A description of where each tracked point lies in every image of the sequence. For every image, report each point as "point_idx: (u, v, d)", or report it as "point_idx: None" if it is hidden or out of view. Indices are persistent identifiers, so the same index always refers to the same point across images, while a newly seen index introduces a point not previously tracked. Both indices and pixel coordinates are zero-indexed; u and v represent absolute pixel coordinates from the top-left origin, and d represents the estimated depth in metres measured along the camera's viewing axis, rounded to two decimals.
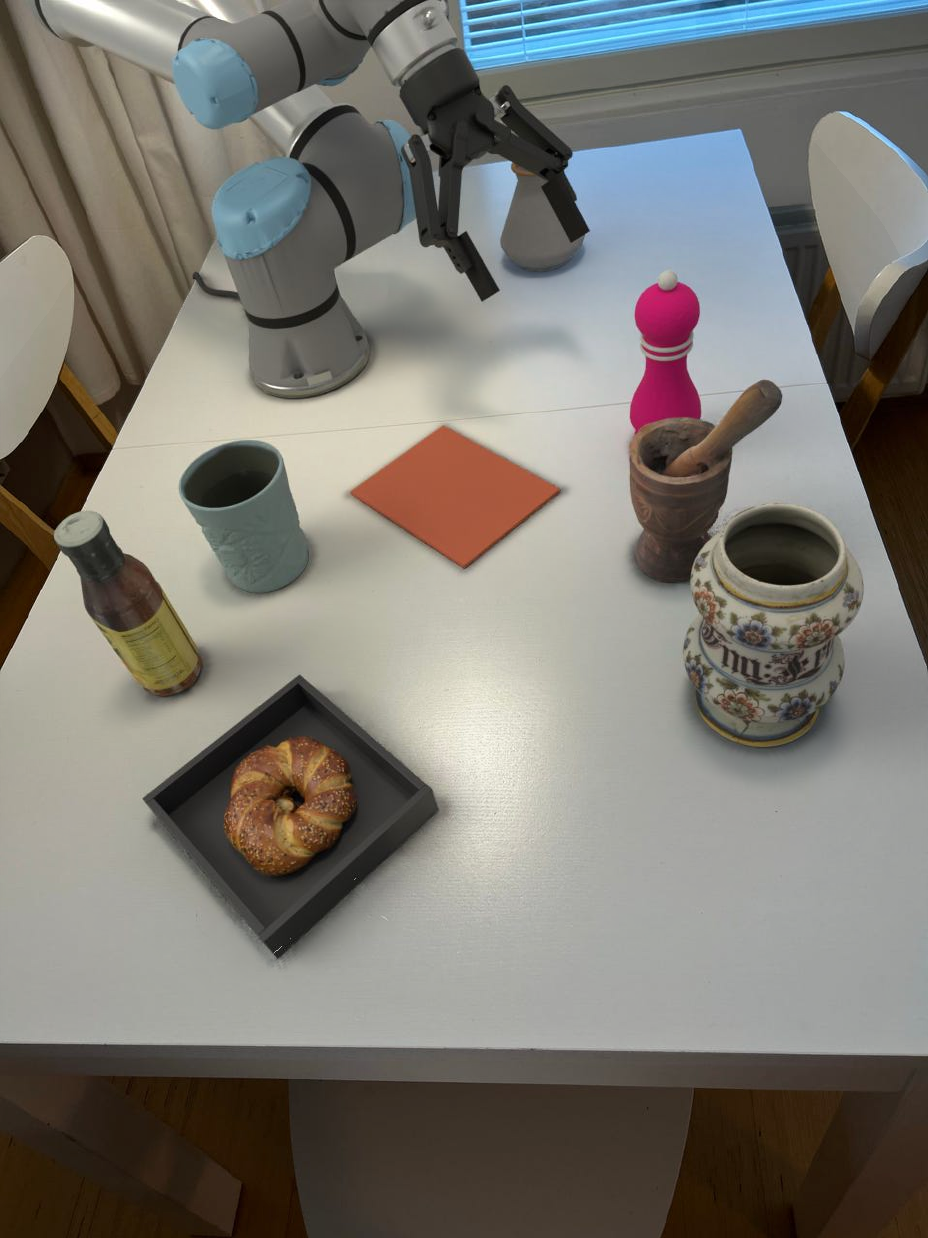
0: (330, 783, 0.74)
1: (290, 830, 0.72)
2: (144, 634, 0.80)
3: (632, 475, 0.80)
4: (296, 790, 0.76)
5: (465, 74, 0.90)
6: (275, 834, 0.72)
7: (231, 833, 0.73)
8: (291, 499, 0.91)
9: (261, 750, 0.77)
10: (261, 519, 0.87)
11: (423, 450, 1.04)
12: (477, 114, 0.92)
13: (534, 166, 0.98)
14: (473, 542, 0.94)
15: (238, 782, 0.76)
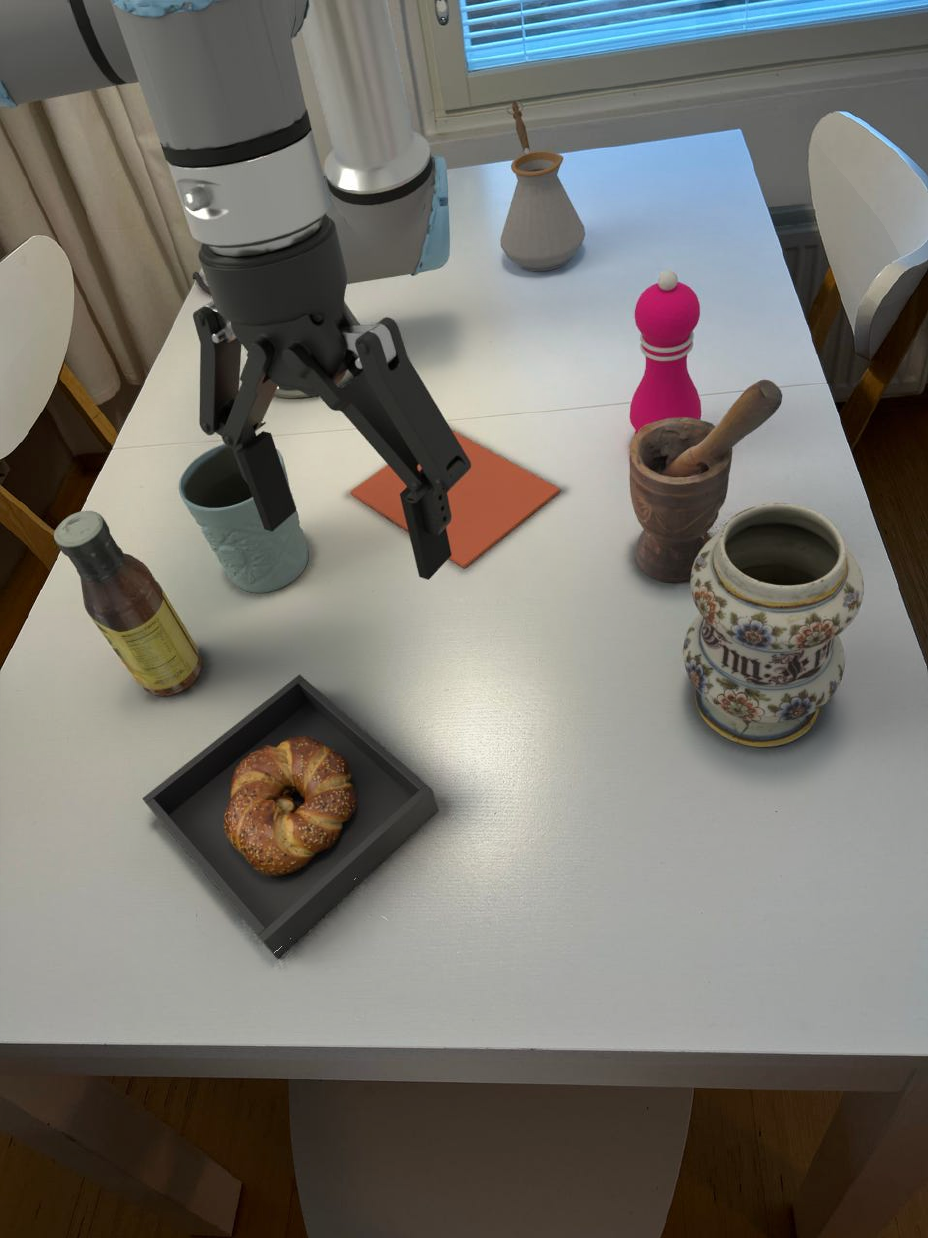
0: (330, 783, 0.74)
1: (290, 830, 0.72)
2: (144, 634, 0.80)
3: (632, 475, 0.80)
4: (296, 790, 0.76)
5: (242, 310, 0.49)
6: (275, 834, 0.72)
7: (231, 833, 0.73)
8: None
9: (261, 750, 0.77)
10: None
11: None
12: (286, 353, 0.52)
13: None
14: (473, 542, 0.94)
15: (238, 782, 0.76)
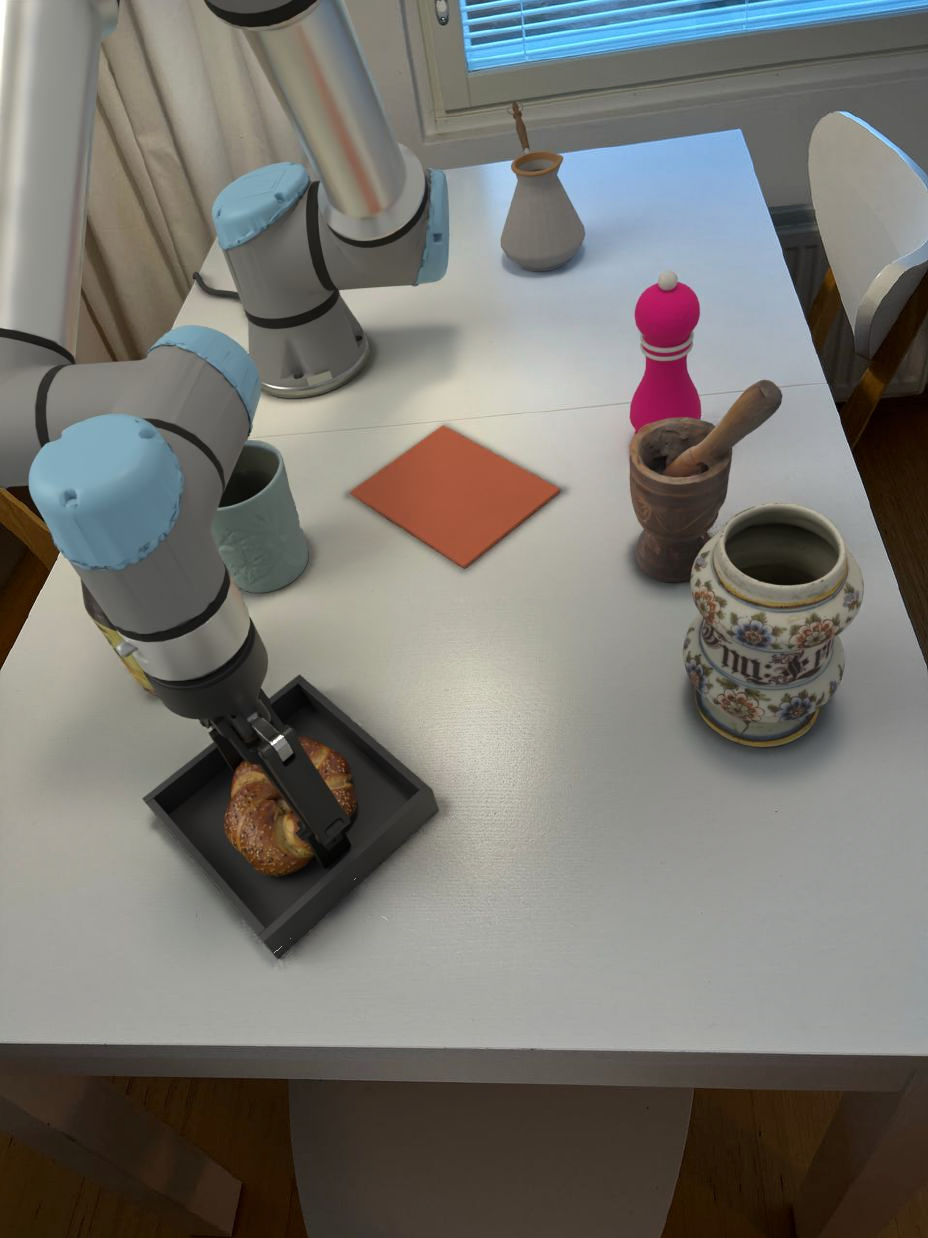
0: (331, 783, 0.74)
1: (291, 831, 0.72)
2: None
3: (632, 475, 0.80)
4: None
5: (169, 707, 0.60)
6: (276, 834, 0.72)
7: (231, 833, 0.73)
8: (291, 499, 0.91)
9: None
10: (261, 519, 0.87)
11: (423, 450, 1.04)
12: (212, 722, 0.63)
13: None
14: (473, 542, 0.94)
15: (238, 783, 0.76)
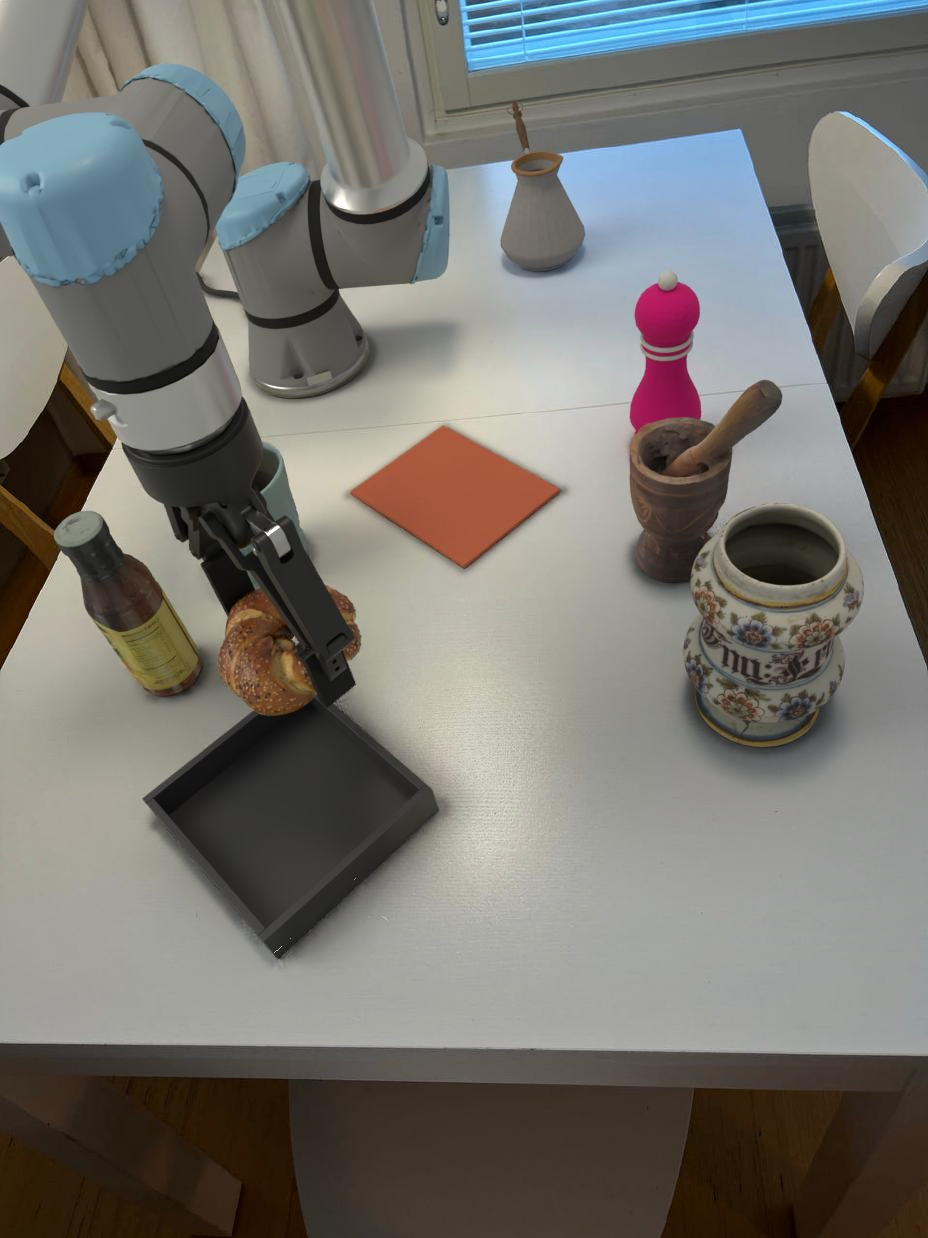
0: None
1: (289, 665, 0.66)
2: (144, 634, 0.80)
3: (632, 475, 0.80)
4: None
5: (152, 492, 0.54)
6: (273, 668, 0.66)
7: (225, 670, 0.67)
8: (291, 499, 0.91)
9: (258, 589, 0.71)
10: None
11: (423, 450, 1.04)
12: (201, 520, 0.57)
13: None
14: (473, 542, 0.94)
15: (233, 622, 0.70)
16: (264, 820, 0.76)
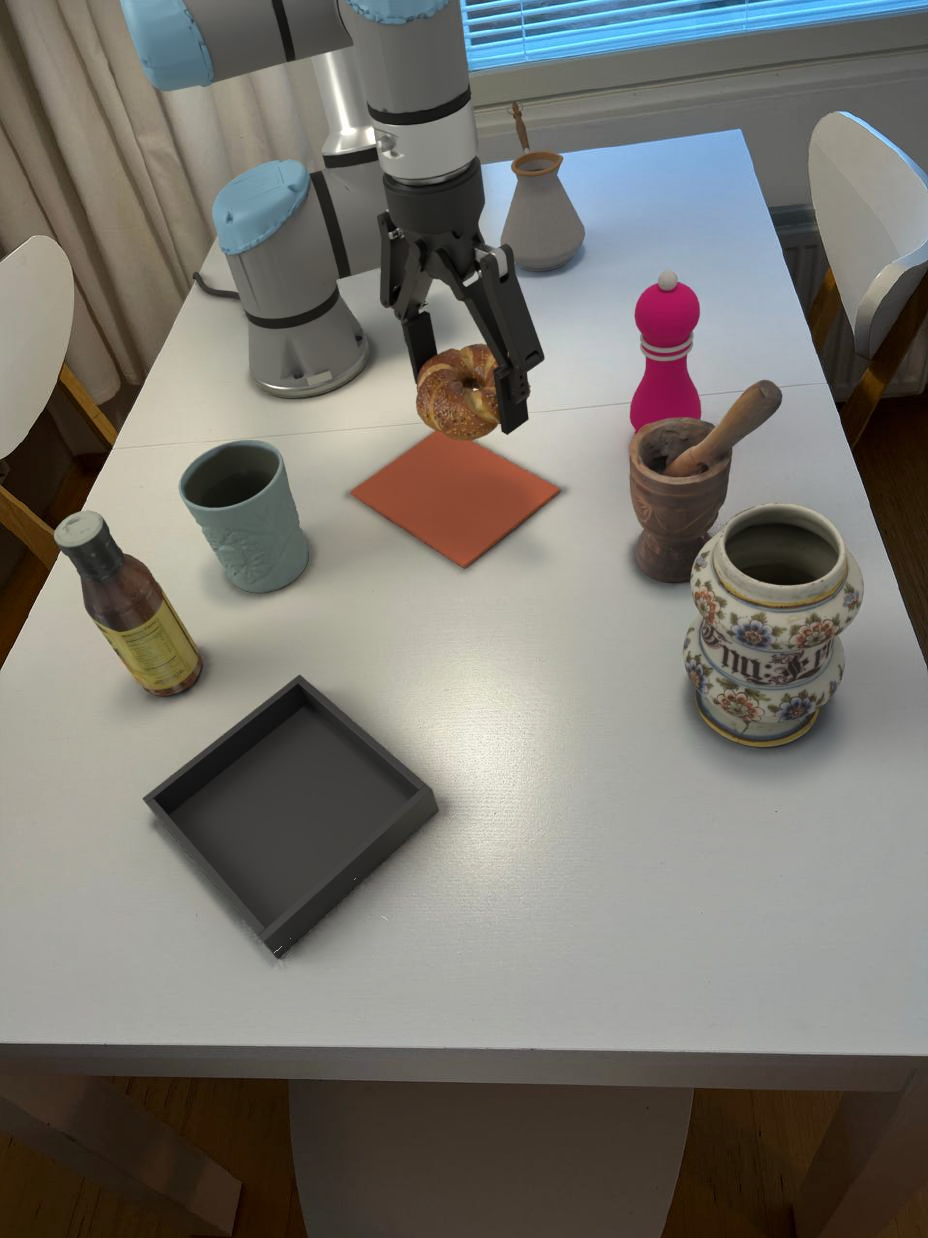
0: None
1: (479, 398, 0.82)
2: (144, 634, 0.80)
3: (632, 475, 0.80)
4: (475, 384, 0.87)
5: (405, 222, 0.71)
6: (466, 400, 0.82)
7: (425, 405, 0.84)
8: (291, 499, 0.91)
9: (444, 351, 0.87)
10: (261, 519, 0.87)
11: (423, 450, 1.04)
12: (433, 254, 0.74)
13: None
14: (473, 542, 0.94)
15: (425, 375, 0.86)
16: (264, 820, 0.76)
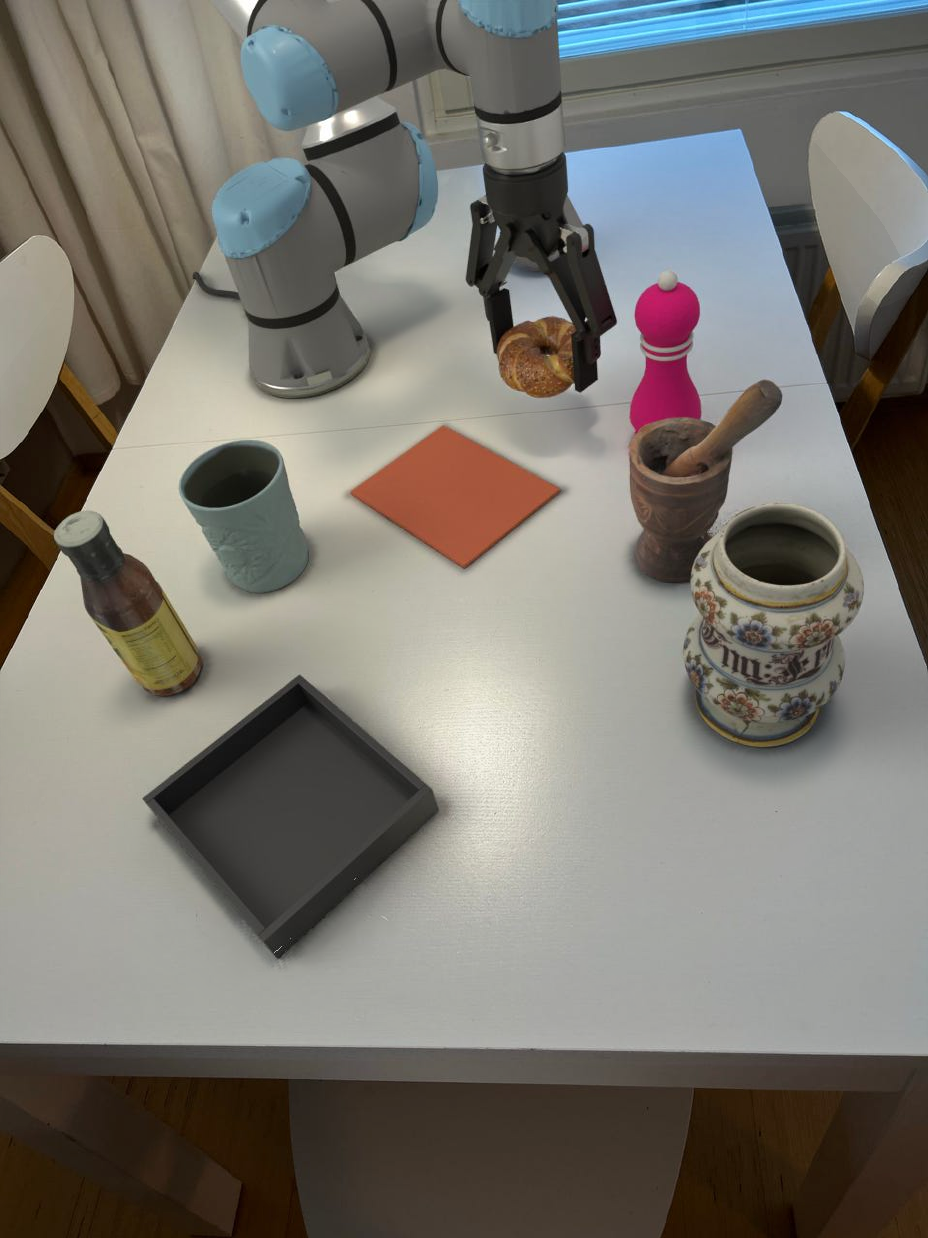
0: None
1: (556, 360, 0.95)
2: (144, 634, 0.80)
3: (632, 475, 0.80)
4: (549, 351, 1.00)
5: (503, 206, 0.84)
6: (545, 362, 0.95)
7: (508, 368, 0.96)
8: (291, 499, 0.91)
9: (520, 323, 1.00)
10: (261, 519, 0.87)
11: (423, 450, 1.04)
12: (524, 234, 0.87)
13: None
14: (473, 542, 0.94)
15: (505, 343, 0.99)
16: (264, 820, 0.76)
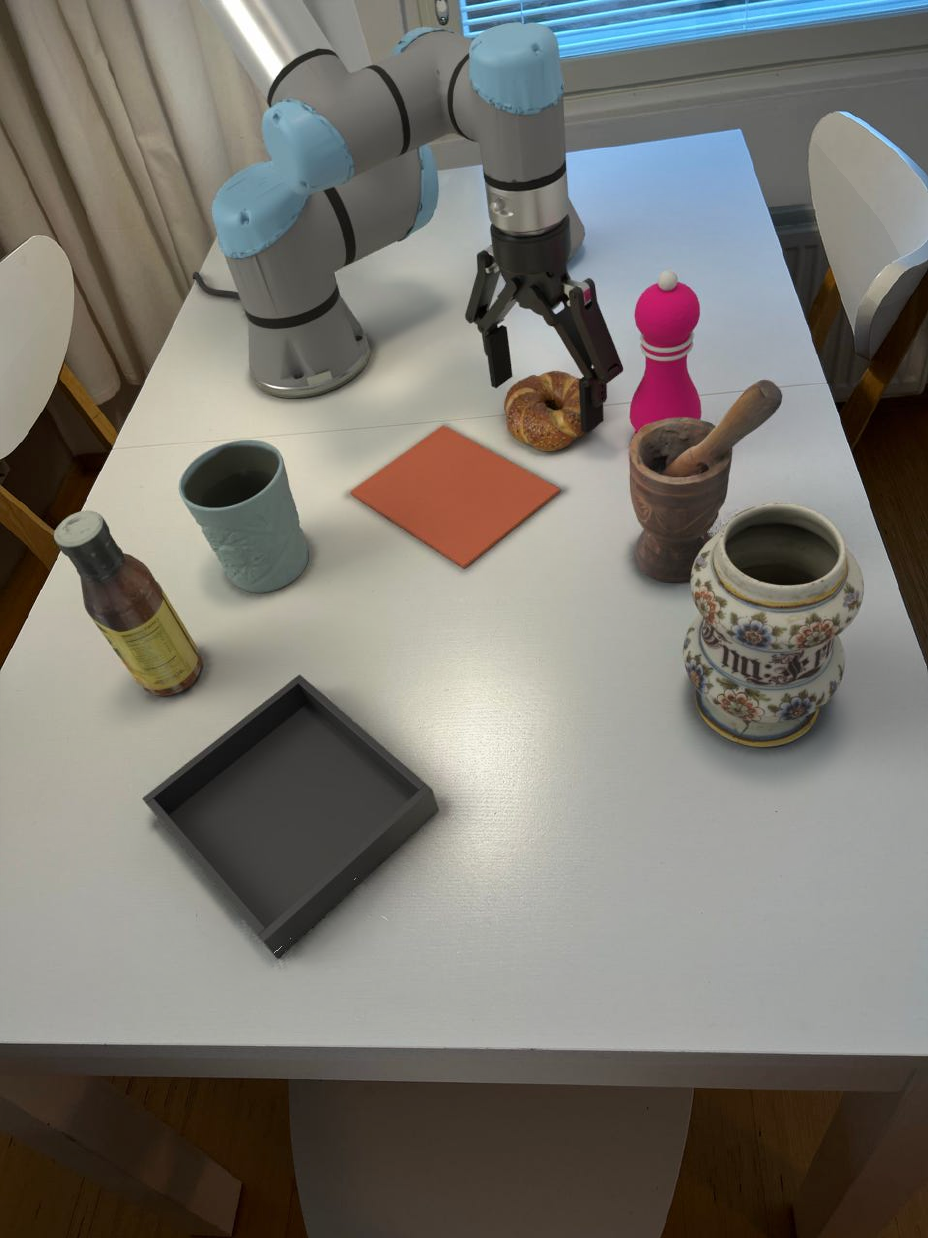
0: None
1: (561, 416, 1.01)
2: (144, 634, 0.80)
3: (632, 475, 0.80)
4: (554, 404, 1.05)
5: (509, 265, 0.88)
6: (551, 418, 1.00)
7: (515, 422, 1.02)
8: (291, 499, 0.91)
9: None
10: (261, 519, 0.87)
11: (423, 450, 1.04)
12: (528, 289, 0.91)
13: None
14: (473, 542, 0.94)
15: (513, 397, 1.05)
16: (264, 820, 0.76)
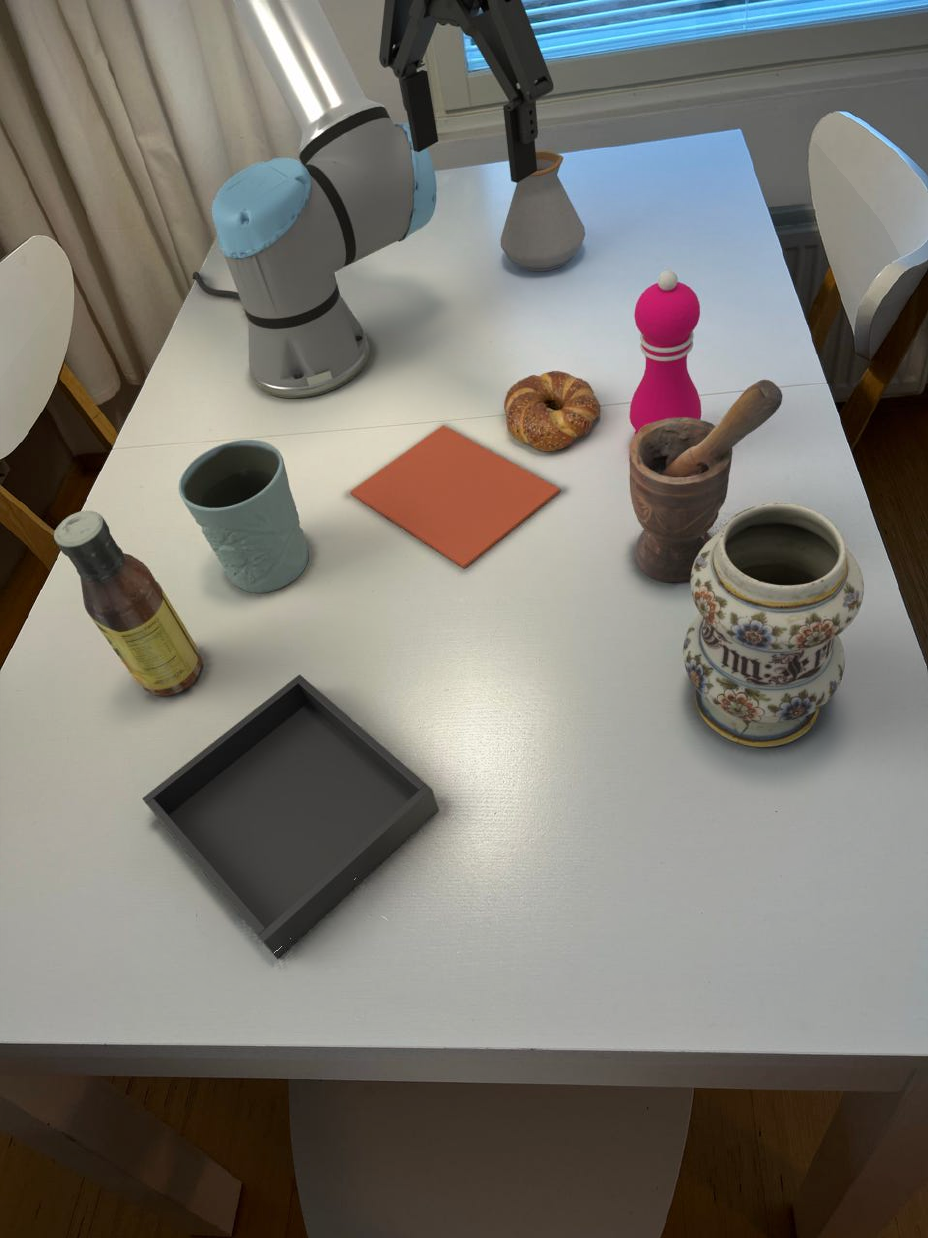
0: (583, 392, 1.03)
1: (561, 416, 1.01)
2: (144, 634, 0.80)
3: (632, 475, 0.80)
4: (554, 404, 1.05)
5: None
6: (551, 418, 1.00)
7: (515, 422, 1.02)
8: (291, 499, 0.91)
9: None
10: (261, 519, 0.87)
11: (423, 450, 1.04)
12: None
13: None
14: (473, 542, 0.94)
15: (513, 397, 1.05)
16: (264, 820, 0.76)
